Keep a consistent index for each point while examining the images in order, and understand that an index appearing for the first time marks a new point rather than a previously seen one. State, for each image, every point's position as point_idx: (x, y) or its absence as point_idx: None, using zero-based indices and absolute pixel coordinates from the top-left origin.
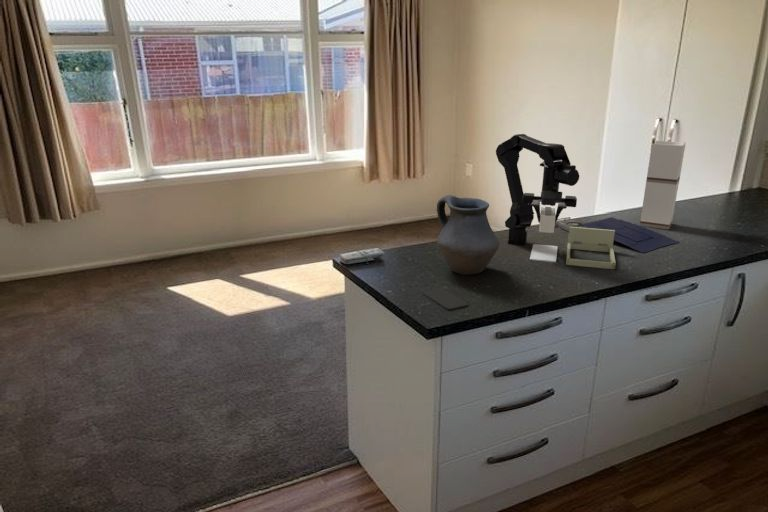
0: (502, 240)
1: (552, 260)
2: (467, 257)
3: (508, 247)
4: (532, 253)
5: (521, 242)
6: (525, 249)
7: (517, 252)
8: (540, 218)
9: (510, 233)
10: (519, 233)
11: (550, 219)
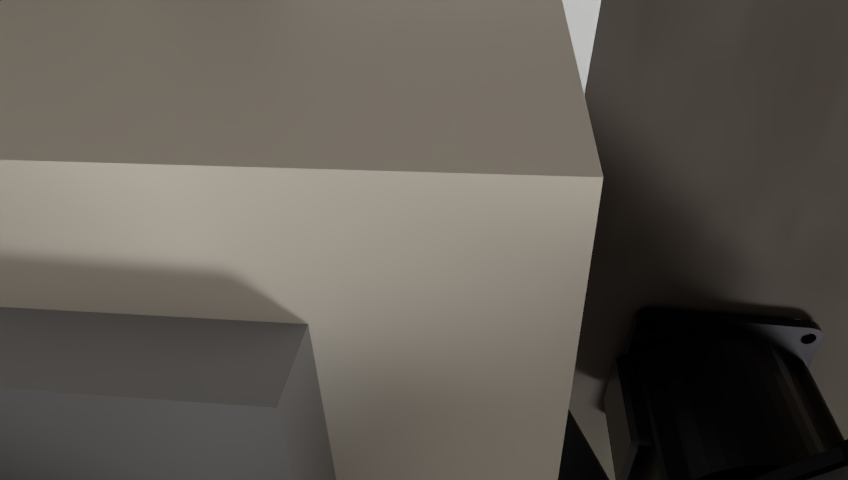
0: (843, 399)
1: None
2: None
3: (841, 216)
4: (581, 6)
5: (667, 343)
6: (642, 187)
7: (770, 54)
8: (581, 91)
9: (825, 432)
10: (728, 416)
11: (47, 75)
